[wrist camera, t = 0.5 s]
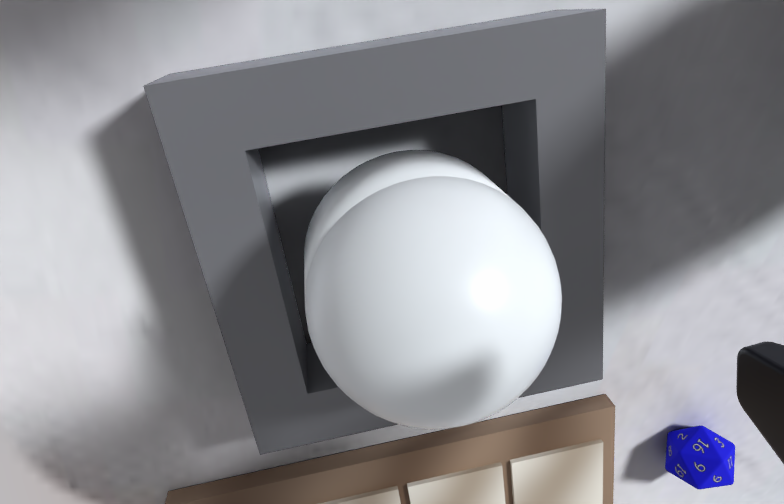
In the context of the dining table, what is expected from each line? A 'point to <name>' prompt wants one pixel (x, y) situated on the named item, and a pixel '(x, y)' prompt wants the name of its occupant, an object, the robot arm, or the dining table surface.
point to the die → (700, 457)
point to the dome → (428, 291)
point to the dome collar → (369, 110)
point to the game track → (449, 466)
